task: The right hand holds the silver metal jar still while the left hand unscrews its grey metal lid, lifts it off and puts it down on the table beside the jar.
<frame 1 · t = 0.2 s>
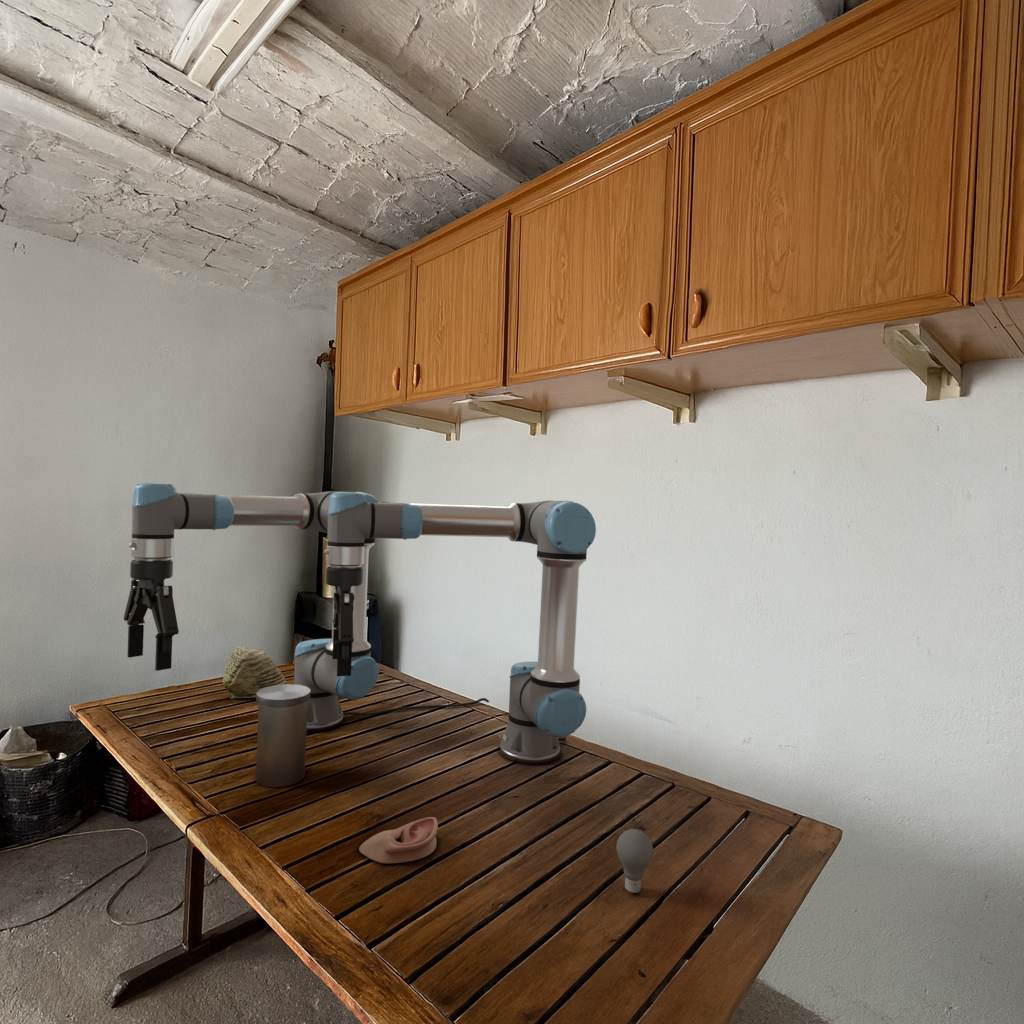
left hand: (148, 662, 129), 28 cm above the table, tool pointing down, fingers open, 13 cm apart
right hand: (341, 666, 133), 28 cm above the table, tool pointing down, fingers open, 13 cm apart
light bulb: (632, 891, 106), on the table
jar: (280, 776, 142), on the table
anatomical model: (398, 848, 116), on the table
fossil: (254, 694, 198), on the table
lid: (283, 693, 142), point 19 cm above the table, screwed on, not yet turned
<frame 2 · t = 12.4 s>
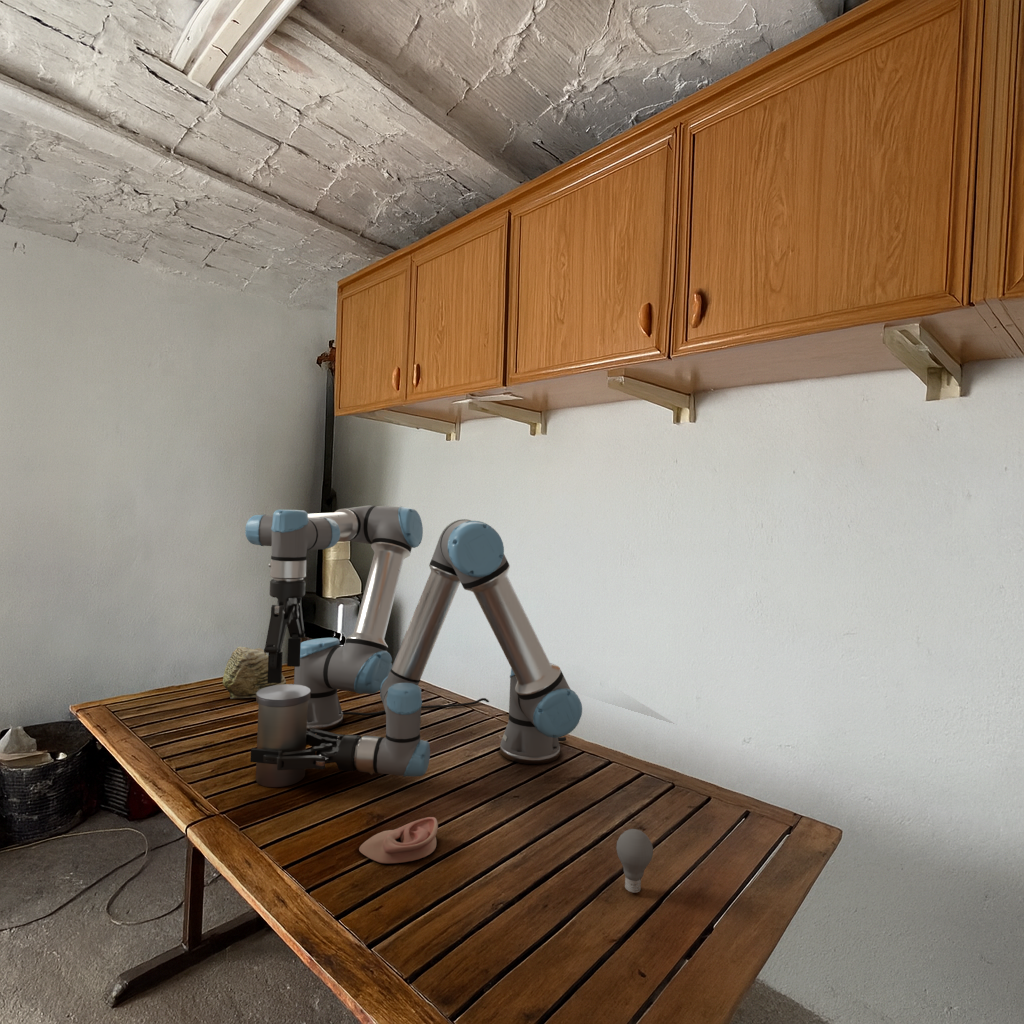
left hand: (284, 674, 142), 23 cm above the table, tool pointing down, fingers open, 12 cm apart
right hand: (264, 745, 143), 7 cm above the table, tool horizontal, fingers closed on jar, 10 cm apart
jar: (280, 776, 142), on the table, touching right hand
everything else where it was.
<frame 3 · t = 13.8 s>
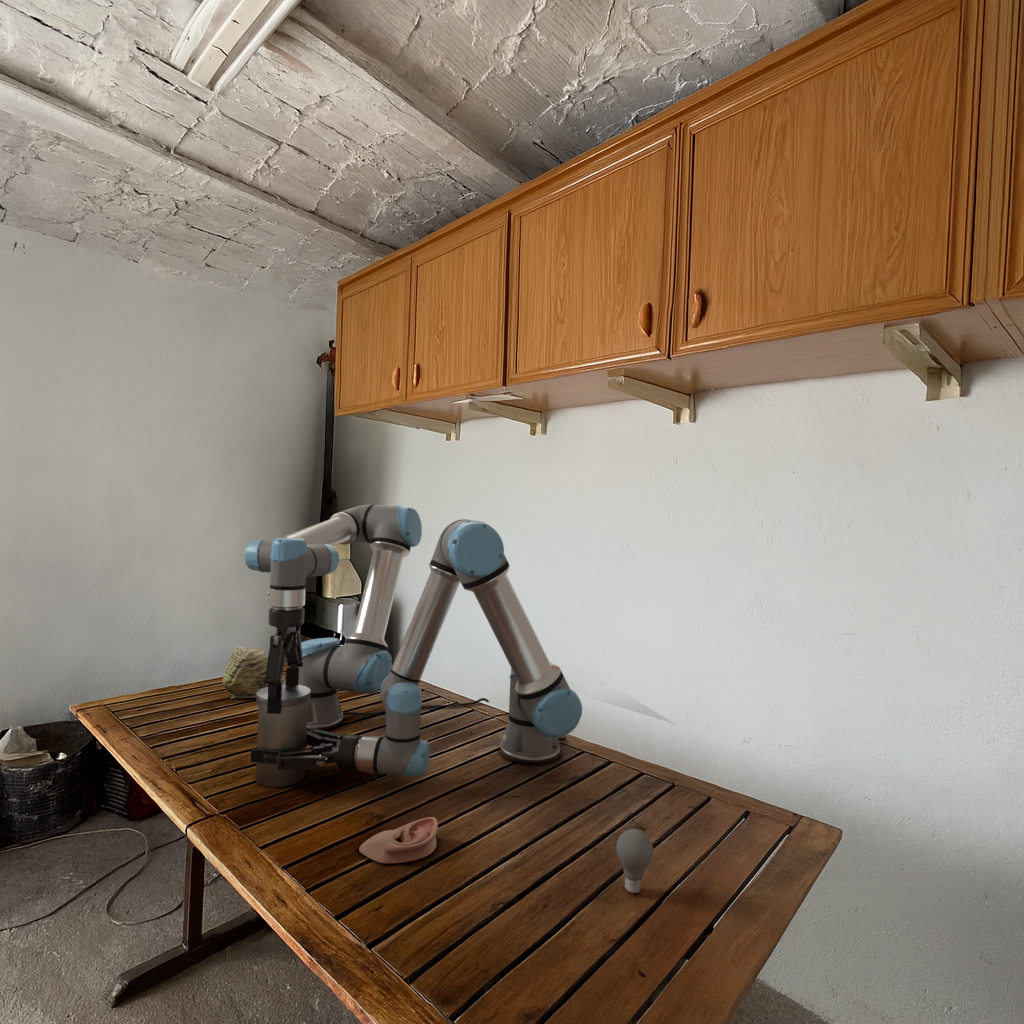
left hand: (283, 704, 142), 16 cm above the table, tool pointing down, fingers closed on lid, 11 cm apart
right hand: (264, 745, 143), 7 cm above the table, tool horizontal, fingers closed on jar, 10 cm apart
jar: (280, 776, 142), on the table, touching right hand
lid: (283, 693, 142), point 19 cm above the table, screwed on, not yet turned, touching left hand
everything else where it was.
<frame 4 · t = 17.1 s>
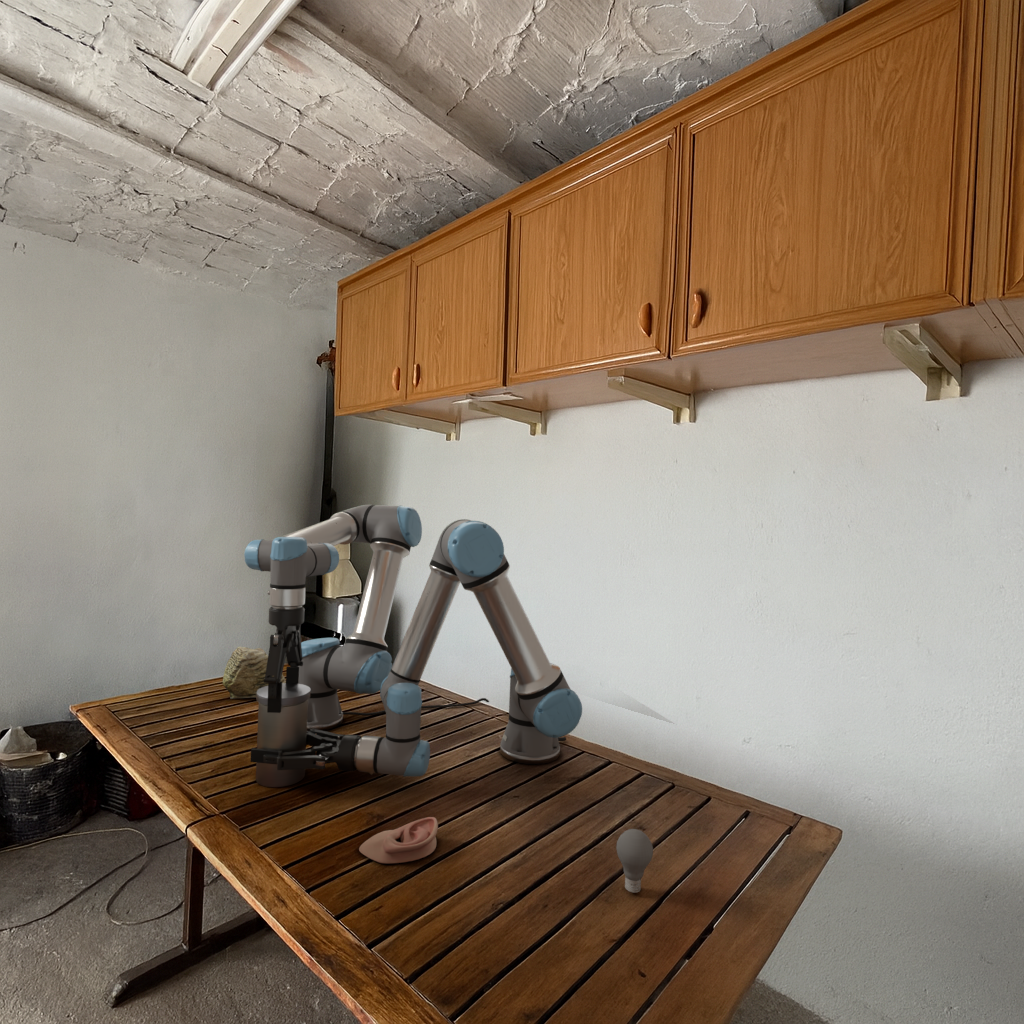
left hand: (283, 703, 142), 17 cm above the table, tool pointing down, fingers closed on lid, 11 cm apart
right hand: (264, 745, 143), 7 cm above the table, tool horizontal, fingers closed on jar, 10 cm apart
jar: (280, 776, 142), on the table, touching right hand
lid: (283, 692, 142), point 19 cm above the table, turned 86° so far, risen 0.3 cm, still on its thread, touching left hand
everything else where it was.
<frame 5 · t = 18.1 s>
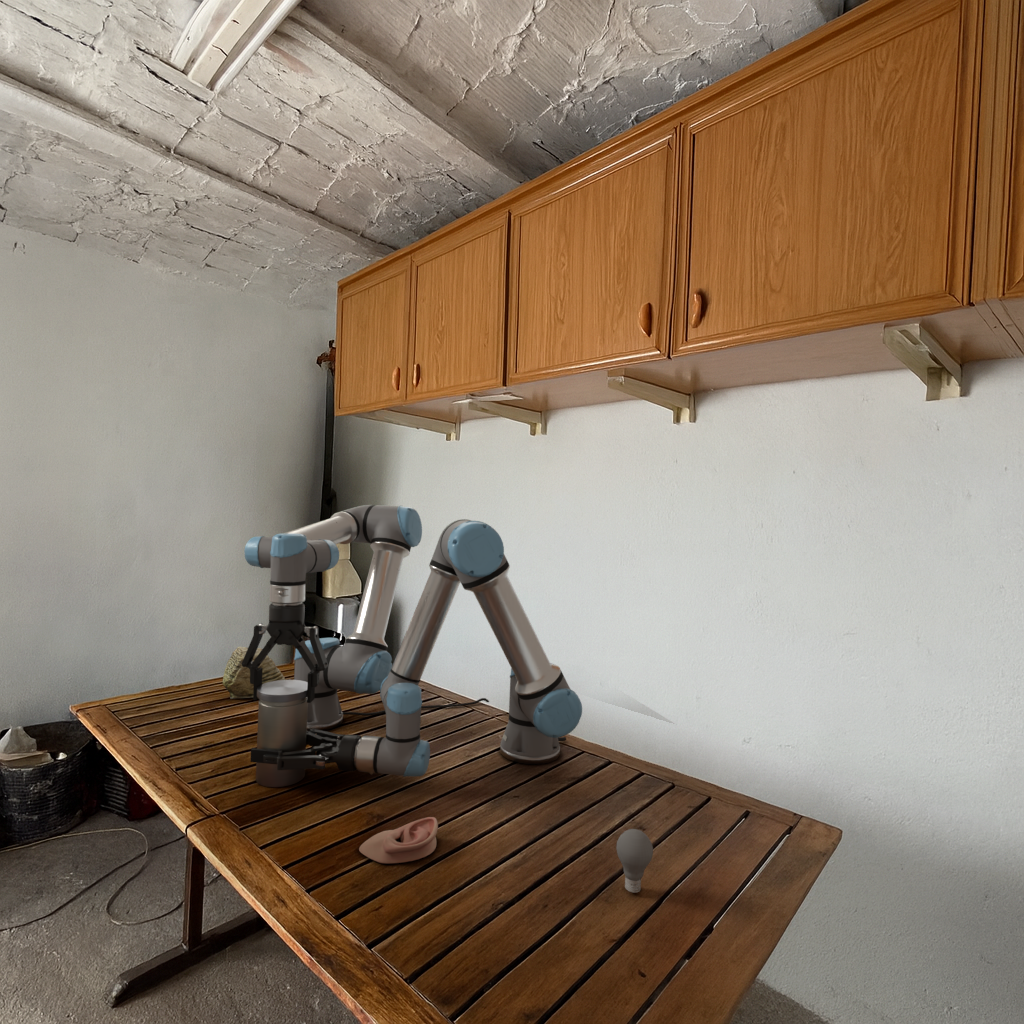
left hand: (284, 699, 142), 17 cm above the table, tool pointing down, fingers closed on lid, 11 cm apart
right hand: (264, 745, 143), 7 cm above the table, tool horizontal, fingers closed on jar, 10 cm apart
jar: (280, 776, 142), on the table, touching right hand
lid: (284, 688, 142), point 20 cm above the table, off its thread, touching left hand
everything else where it was.
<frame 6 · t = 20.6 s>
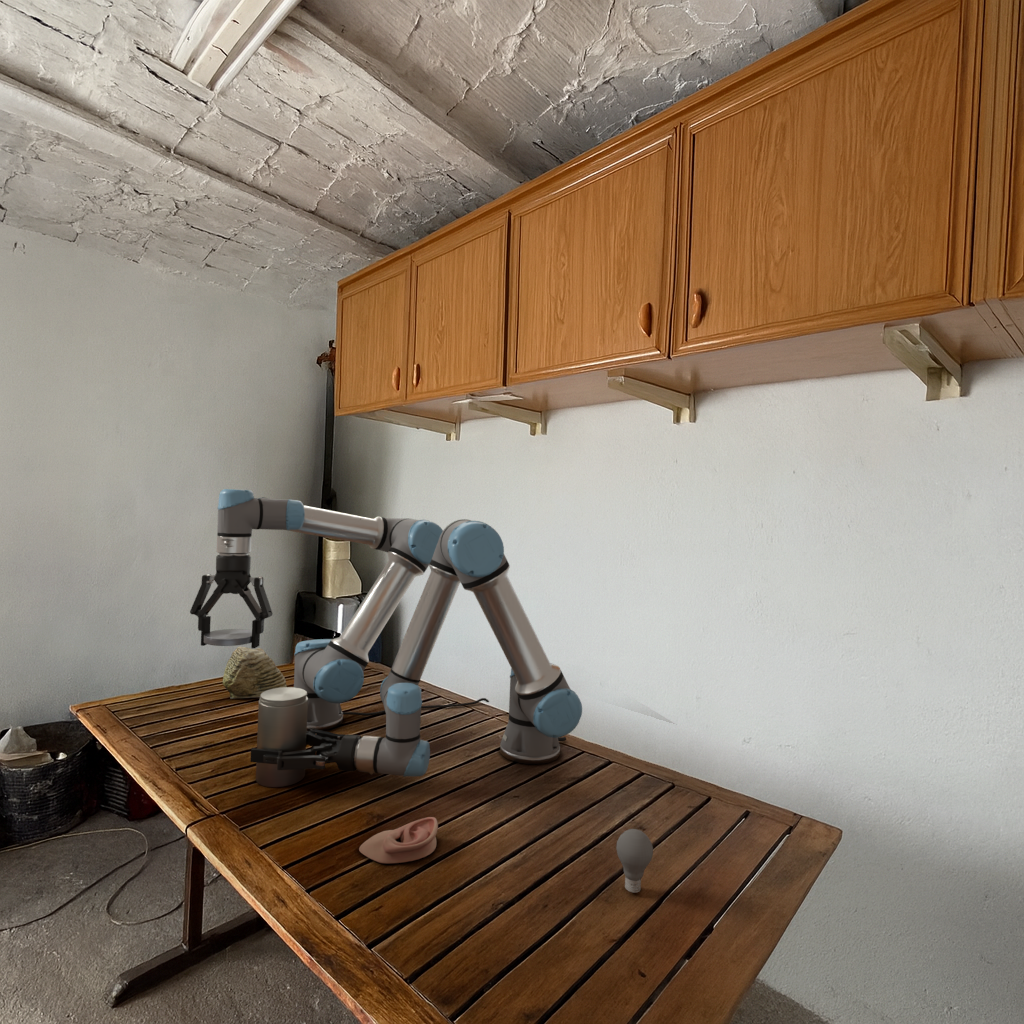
left hand: (230, 645, 150), 27 cm above the table, tool pointing down, fingers closed on lid, 11 cm apart
right hand: (264, 745, 143), 7 cm above the table, tool horizontal, fingers closed on jar, 10 cm apart
jar: (280, 776, 142), on the table, touching right hand
lid: (230, 635, 150), point 29 cm above the table, off its thread, touching left hand
everything else where it was.
when the left hand's fingers open (0 cm above the table, at t = 24.1 s): lid drops 1 cm, point 1 cm above the table.
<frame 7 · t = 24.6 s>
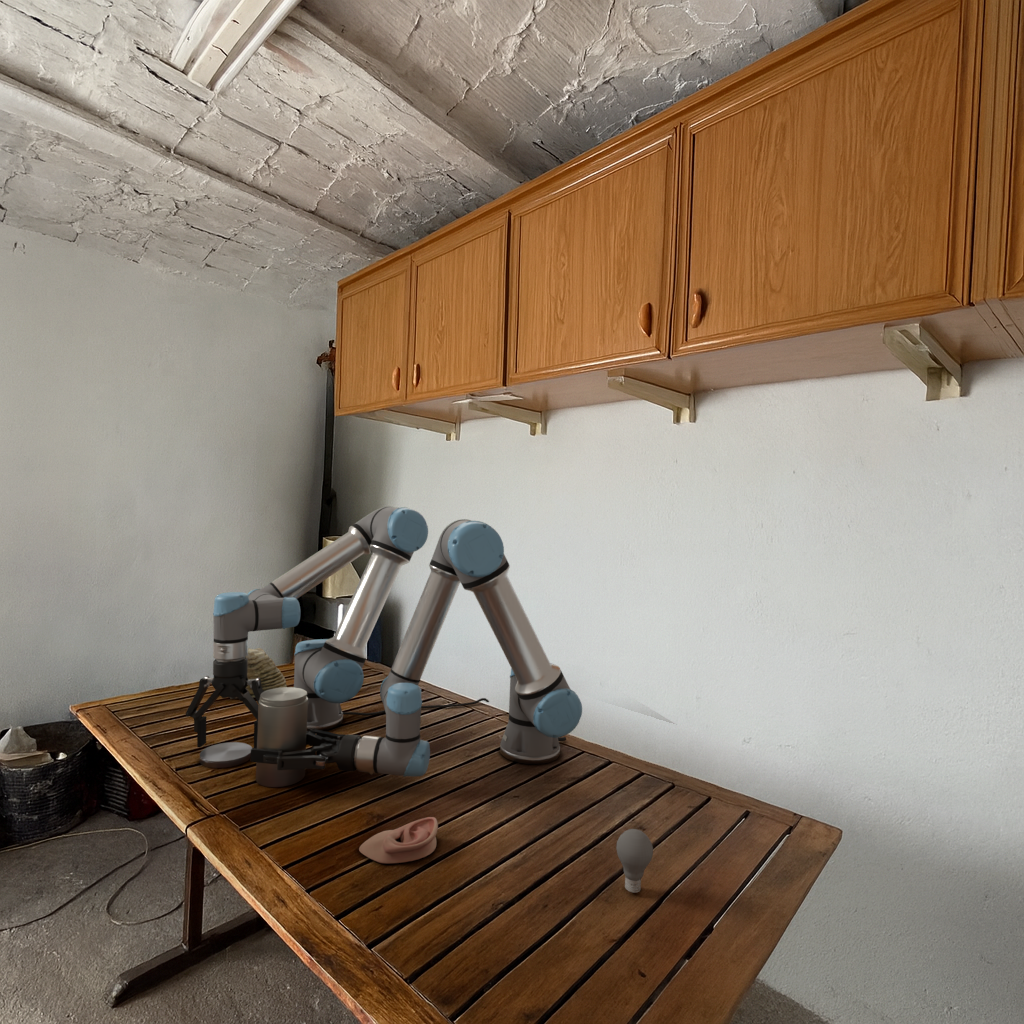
left hand: (229, 746, 151), 3 cm above the table, tool pointing down, fingers open, 13 cm apart
right hand: (264, 745, 143), 7 cm above the table, tool horizontal, fingers closed on jar, 10 cm apart
jar: (280, 776, 142), on the table, touching right hand
lid: (226, 752, 151), point 1 cm above the table, off its thread
everything else where it was.
when the right hand's fingers open (7 cm above the table, at t = 25.1 s): jar stays where it is, on the table.
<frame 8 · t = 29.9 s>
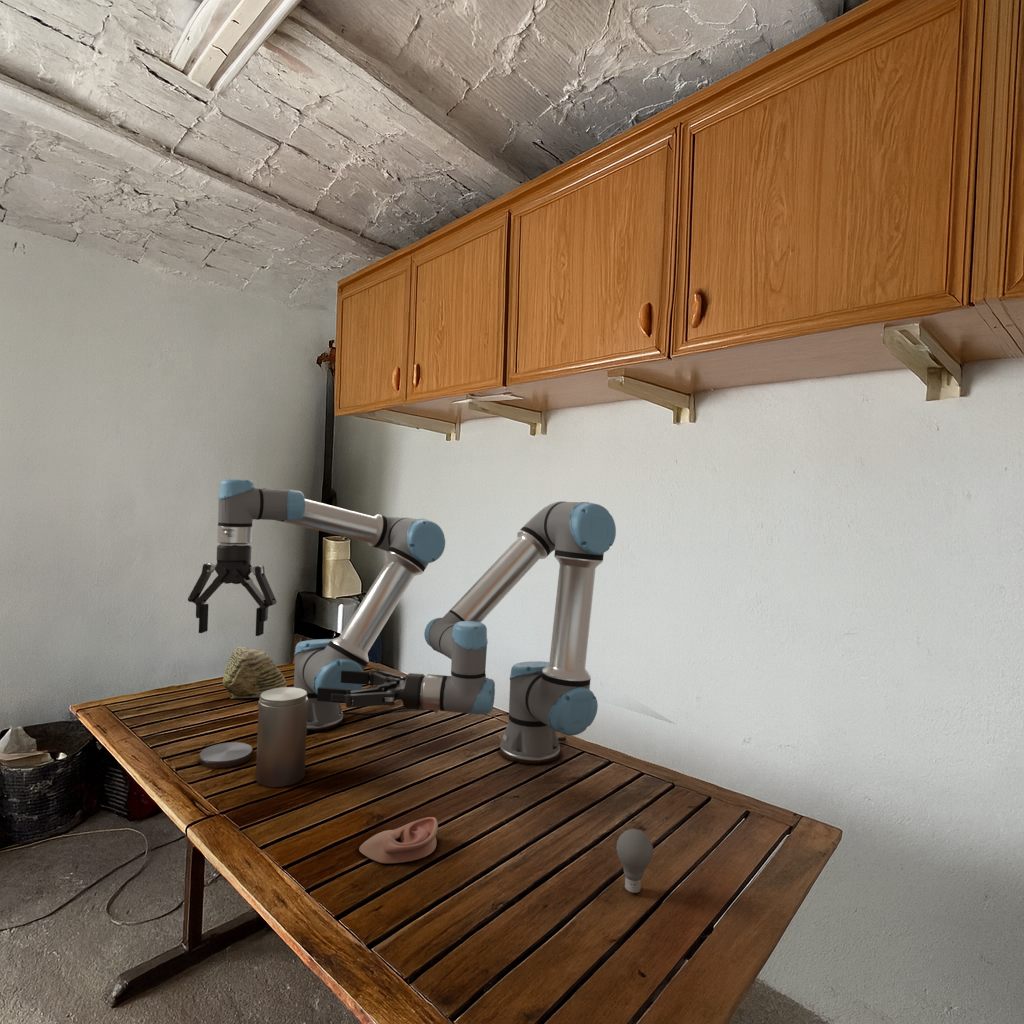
left hand: (231, 633, 150), 30 cm above the table, tool pointing down, fingers open, 13 cm apart
right hand: (330, 684, 141), 22 cm above the table, tool horizontal, fingers open, 13 cm apart
jar: (280, 776, 142), on the table
everything else where it was.
at the end: lid came off its thread; lid point 1.2 cm above the table; the left hand is holding nothing; the right hand is holding nothing; jar tilted 0°; jar moved 0.0 cm from its start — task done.
